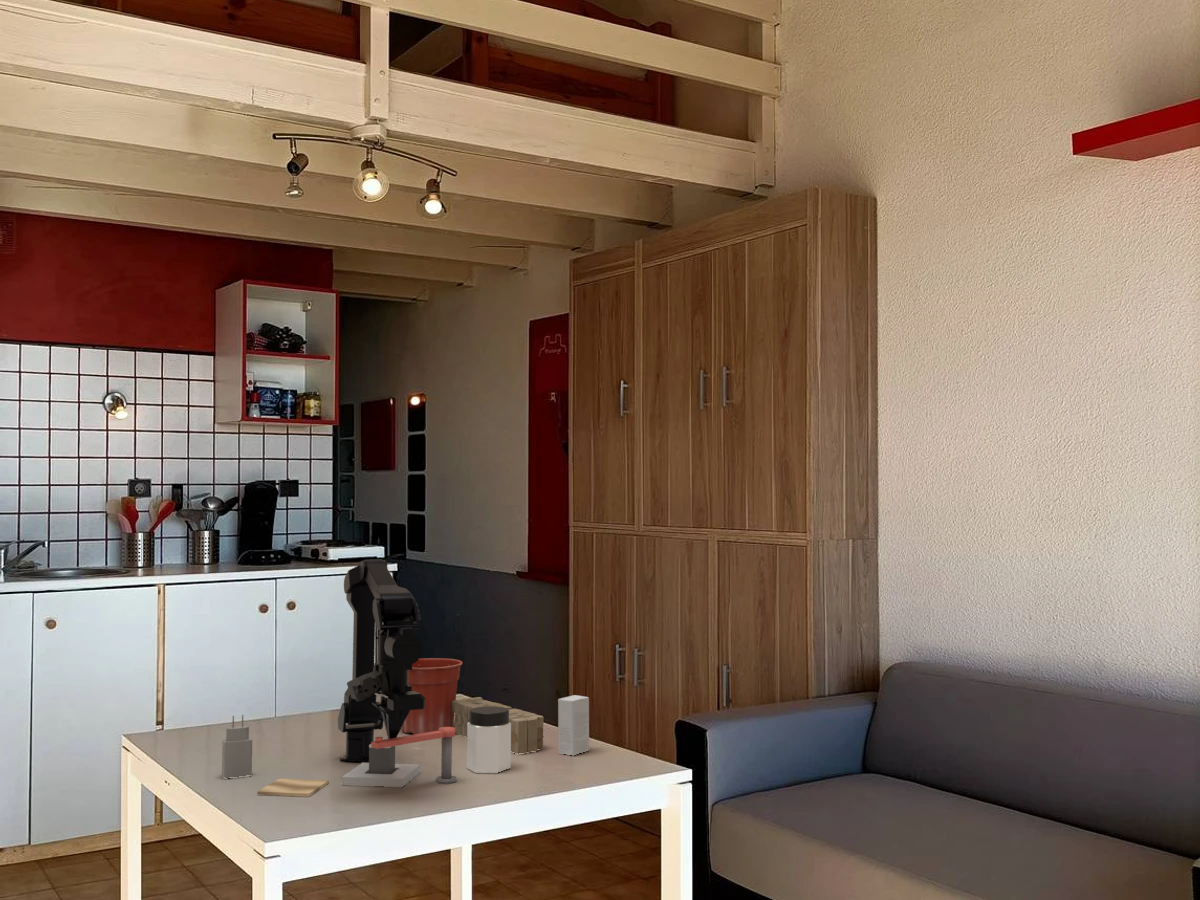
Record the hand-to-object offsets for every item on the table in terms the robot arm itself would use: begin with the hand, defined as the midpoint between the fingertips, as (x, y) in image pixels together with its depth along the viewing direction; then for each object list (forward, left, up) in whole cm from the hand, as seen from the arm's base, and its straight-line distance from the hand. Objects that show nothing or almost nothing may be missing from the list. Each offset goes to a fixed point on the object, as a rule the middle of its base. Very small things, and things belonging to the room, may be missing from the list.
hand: (391, 741), depth 215 cm
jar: (-19, +15, -9) cm, 26 cm away
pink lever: (-2, +4, 0) cm, 4 cm away
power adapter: (-6, -33, -9) cm, 35 cm away
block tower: (-45, +11, -10) cm, 47 cm away
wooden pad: (+2, -18, -9) cm, 21 cm away
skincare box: (-36, +30, -9) cm, 47 cm away
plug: (-8, -4, -9) cm, 13 cm away
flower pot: (-55, -8, -9) cm, 56 cm away
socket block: (-8, 0, -9) cm, 12 cm away
